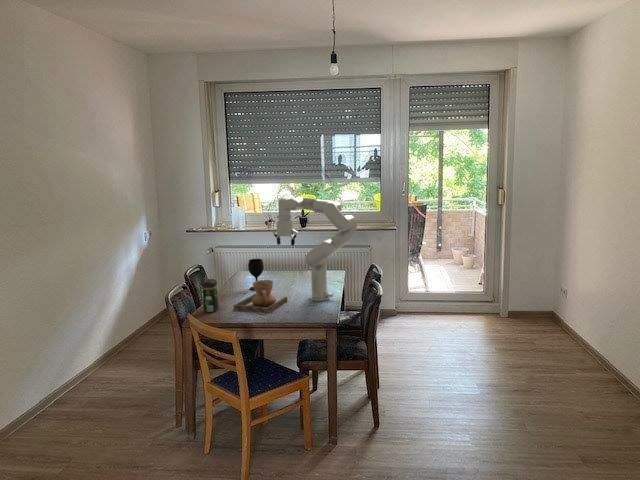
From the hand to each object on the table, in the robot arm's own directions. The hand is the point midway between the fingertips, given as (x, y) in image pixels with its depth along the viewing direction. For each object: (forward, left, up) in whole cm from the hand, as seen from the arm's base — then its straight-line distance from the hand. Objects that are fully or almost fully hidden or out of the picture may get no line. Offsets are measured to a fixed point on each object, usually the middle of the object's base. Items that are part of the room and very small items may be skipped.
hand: (285, 244), depth 316 cm
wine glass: (+28, -10, -34) cm, 45 cm away
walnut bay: (+6, +24, -33) cm, 41 cm away
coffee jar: (+30, +42, -34) cm, 62 cm away
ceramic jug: (+5, +23, -34) cm, 41 cm away
